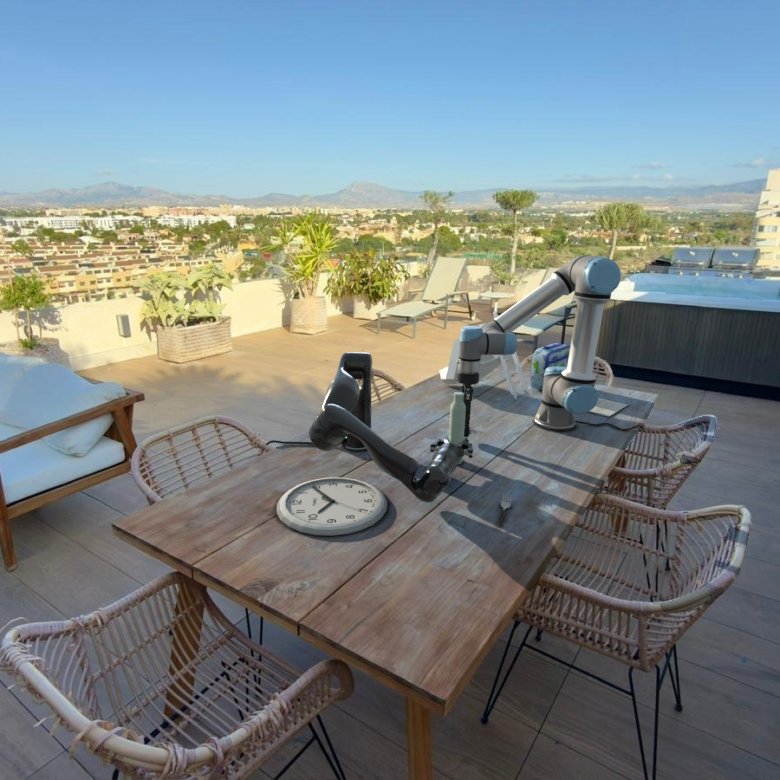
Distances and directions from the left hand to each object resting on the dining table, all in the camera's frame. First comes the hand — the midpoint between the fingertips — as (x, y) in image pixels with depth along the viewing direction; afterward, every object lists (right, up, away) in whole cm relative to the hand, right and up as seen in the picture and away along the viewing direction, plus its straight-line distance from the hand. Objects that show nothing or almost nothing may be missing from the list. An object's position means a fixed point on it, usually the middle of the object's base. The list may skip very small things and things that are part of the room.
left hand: (457, 439), depth 171 cm
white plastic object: (+19, +15, +72) cm, 76 cm away
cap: (+4, +2, +16) cm, 16 cm away
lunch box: (+55, +17, +81) cm, 100 cm away
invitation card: (+69, +9, +55) cm, 89 cm away
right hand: (+4, 0, +16) cm, 17 cm away
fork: (+8, -17, -32) cm, 37 cm away
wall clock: (-38, -15, -29) cm, 50 cm away
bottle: (-1, -7, 0) cm, 7 cm away
